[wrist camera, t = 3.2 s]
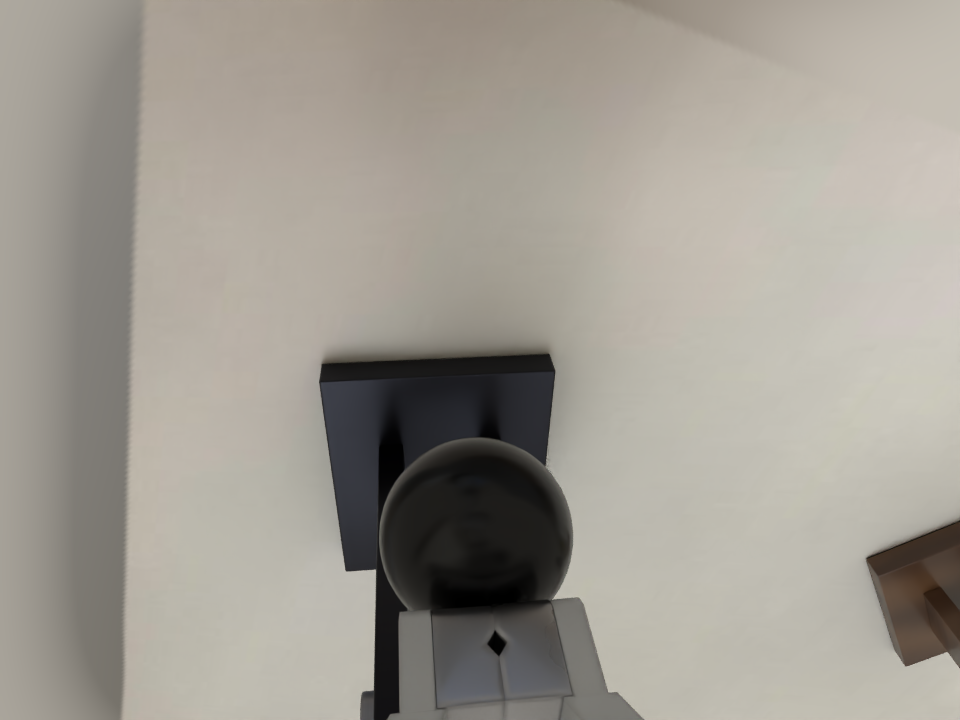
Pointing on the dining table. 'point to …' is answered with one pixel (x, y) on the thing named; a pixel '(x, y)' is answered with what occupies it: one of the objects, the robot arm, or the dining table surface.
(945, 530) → the bracket far
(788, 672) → the dining table surface
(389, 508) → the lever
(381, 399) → the bracket near
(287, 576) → the dining table surface
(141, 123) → the dining table surface
